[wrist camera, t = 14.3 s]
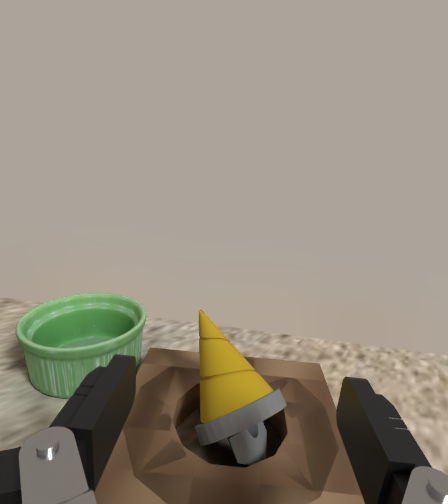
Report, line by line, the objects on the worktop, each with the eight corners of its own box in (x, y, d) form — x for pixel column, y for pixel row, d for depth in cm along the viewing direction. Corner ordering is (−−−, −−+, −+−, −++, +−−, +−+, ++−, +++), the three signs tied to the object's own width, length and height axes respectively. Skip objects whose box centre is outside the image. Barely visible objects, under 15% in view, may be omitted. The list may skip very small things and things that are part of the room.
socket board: (-149, 1023, 6) (-179, 988, 6) (150, 369, 25) (150, 347, 25) (559, 1162, 6) (605, 1139, 5) (315, 385, 25) (319, 363, 24)
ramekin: (153, 336, 30) (153, 294, 29) (133, 407, 22) (132, 351, 20) (55, 334, 30) (51, 290, 28) (-6, 406, 21) (-16, 347, 20)
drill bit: (202, 518, 16) (143, 327, 19) (241, 473, 20) (187, 327, 24) (300, 485, 14) (216, 286, 18) (317, 445, 19) (248, 294, 23)
